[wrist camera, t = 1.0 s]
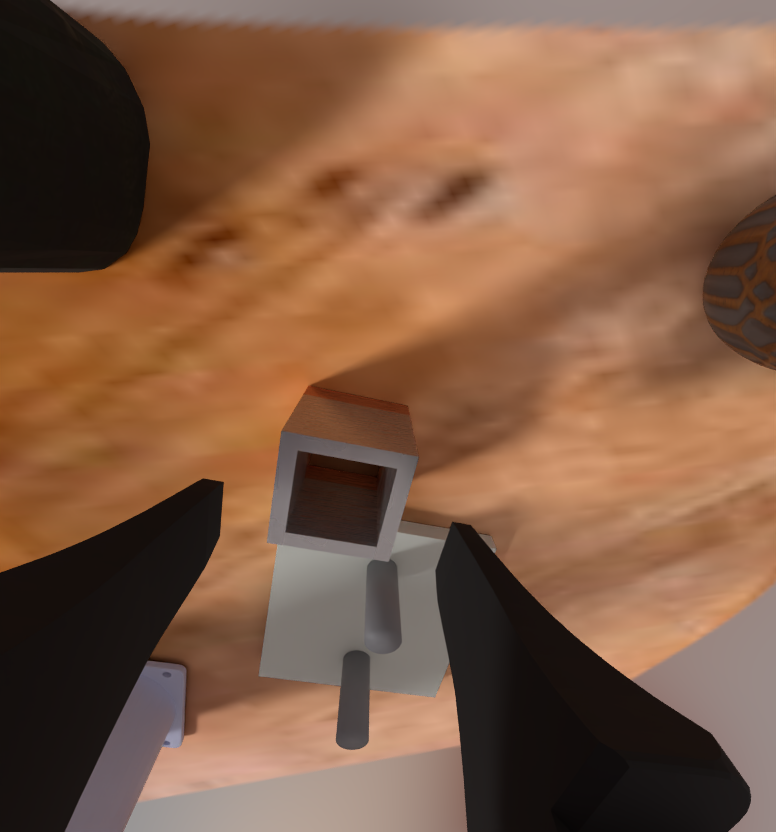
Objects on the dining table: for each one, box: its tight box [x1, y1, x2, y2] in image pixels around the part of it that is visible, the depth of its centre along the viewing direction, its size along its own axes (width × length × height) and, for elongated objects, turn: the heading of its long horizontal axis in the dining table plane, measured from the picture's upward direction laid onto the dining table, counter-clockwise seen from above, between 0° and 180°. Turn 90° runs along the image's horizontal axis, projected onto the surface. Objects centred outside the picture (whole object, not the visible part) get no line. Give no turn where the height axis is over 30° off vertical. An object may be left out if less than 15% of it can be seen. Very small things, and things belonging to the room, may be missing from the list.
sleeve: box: [267, 386, 419, 562], centre depth 15 cm, size 5×5×5 cm
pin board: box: [259, 520, 496, 750], centre depth 19 cm, size 11×12×5 cm
